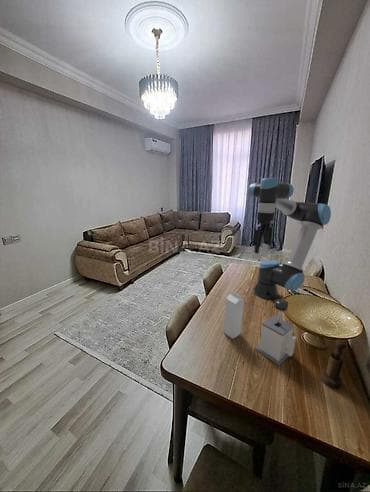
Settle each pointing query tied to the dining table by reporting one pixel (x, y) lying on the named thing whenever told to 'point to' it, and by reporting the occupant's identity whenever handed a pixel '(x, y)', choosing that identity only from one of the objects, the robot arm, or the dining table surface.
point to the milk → (233, 315)
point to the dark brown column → (334, 367)
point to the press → (276, 340)
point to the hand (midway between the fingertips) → (260, 257)
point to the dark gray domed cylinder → (280, 308)
